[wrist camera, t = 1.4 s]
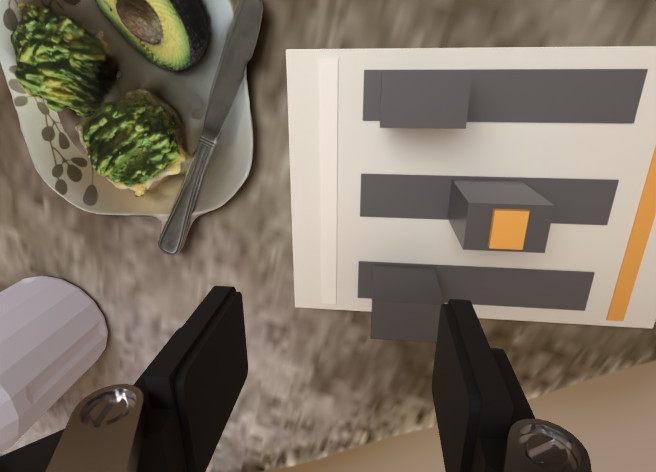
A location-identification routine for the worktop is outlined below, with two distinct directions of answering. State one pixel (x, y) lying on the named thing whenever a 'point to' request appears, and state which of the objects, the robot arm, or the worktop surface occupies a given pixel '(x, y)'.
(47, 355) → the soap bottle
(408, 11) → the worktop surface
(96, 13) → the salad plate
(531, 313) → the breaker switch panel
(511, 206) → the block
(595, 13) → the worktop surface
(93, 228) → the worktop surface
